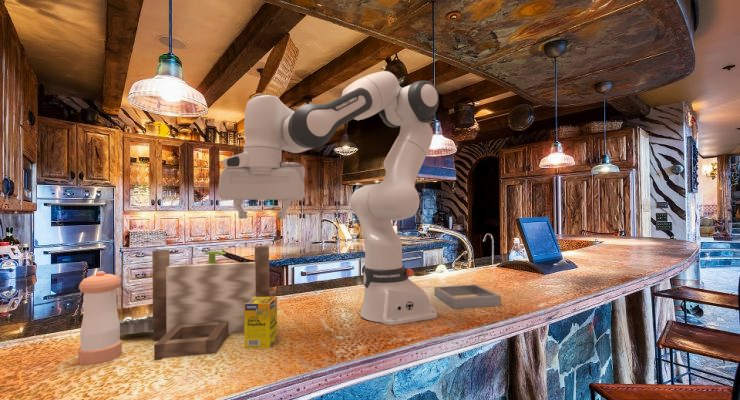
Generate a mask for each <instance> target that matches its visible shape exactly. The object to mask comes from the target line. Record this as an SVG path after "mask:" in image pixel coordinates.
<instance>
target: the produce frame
mask: <svg viewBox="0 0 740 400" xmlns="http://www.w3.org/2000/svg"><path fill="white" fill-rule="evenodd" d="M433 289H434V291H433V292H434V293H433V294H434V297H436V298H437V299H439V300H440V301H441V302H443V303H445V304H446V305H447V306H449V307H450V308H452V309H453V310H457V309H460V310H461V309H472V308H483V307H485V308H486V307H497V306H498V307H499V306H502V299H501V298H502V297H501V295H500V294H498V293H495V292H493V291H491V290H488V289H487V288H484V287H482V286H480V285H479V284H464V285H463V284H462V285H461V284H460V285H459V284H458V285H443V286H435V287H434V288H433ZM460 295H477V296H468V297H467V296H465V297H455V296H460Z"/></svg>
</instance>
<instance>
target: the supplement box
mask: <svg viewBox="0 0 740 400" xmlns="http://www.w3.org/2000/svg"><path fill="white" fill-rule="evenodd" d="M243 333H244V349H270V348H271V347H272V346H273V344H274V343H275V342H276V341H277V340H278V296H269V297H253V298H252V299H251V300H250V301H248V302H247V303H245V304H244V332H243Z"/></svg>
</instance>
